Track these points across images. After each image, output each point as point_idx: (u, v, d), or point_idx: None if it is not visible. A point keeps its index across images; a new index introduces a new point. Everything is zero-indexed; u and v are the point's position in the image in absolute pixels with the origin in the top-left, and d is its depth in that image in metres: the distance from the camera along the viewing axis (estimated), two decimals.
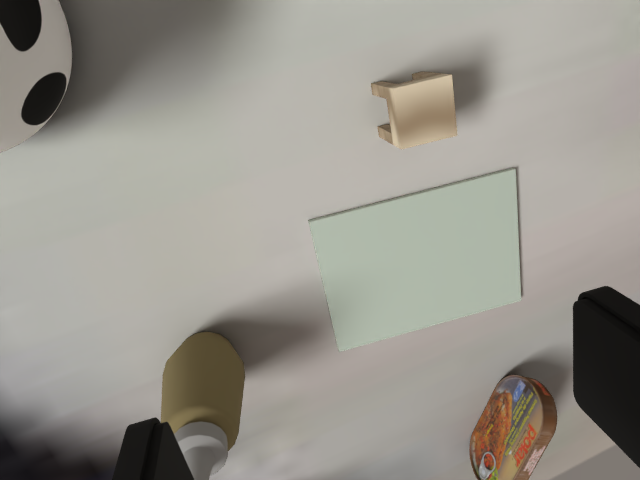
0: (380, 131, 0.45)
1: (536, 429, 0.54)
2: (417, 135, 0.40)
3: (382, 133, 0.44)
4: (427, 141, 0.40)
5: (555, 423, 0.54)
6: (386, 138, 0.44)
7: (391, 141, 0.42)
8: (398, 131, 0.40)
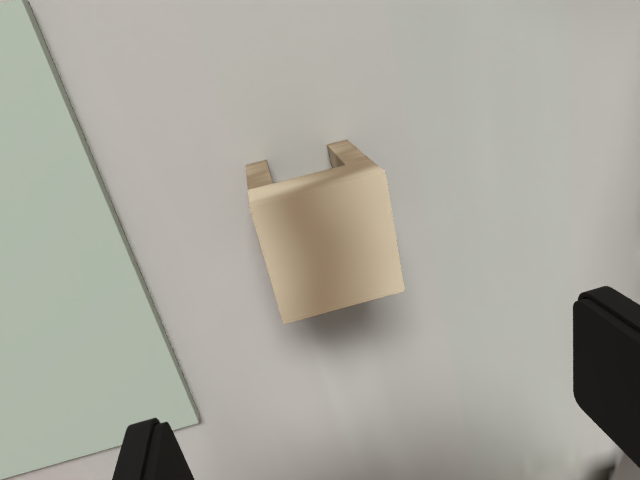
0: (259, 165, 0.22)
1: None
2: (283, 239, 0.17)
3: (258, 169, 0.21)
4: (269, 264, 0.18)
5: None
6: (252, 176, 0.20)
7: (253, 185, 0.19)
8: (290, 195, 0.17)
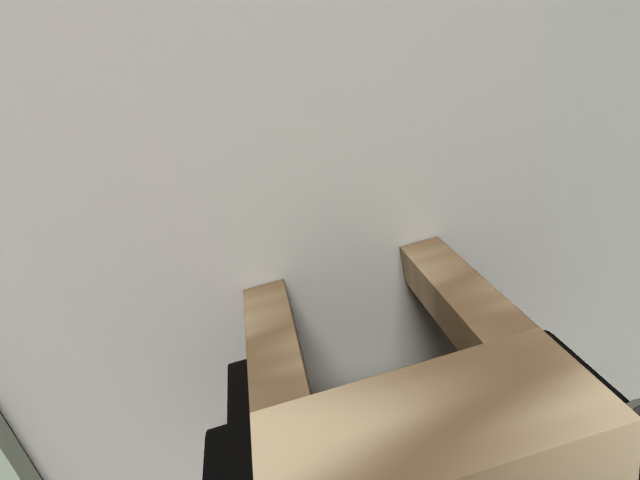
0: (271, 297, 0.11)
1: None
2: None
3: (270, 314, 0.10)
4: None
5: None
6: (258, 344, 0.09)
7: (262, 393, 0.08)
8: None
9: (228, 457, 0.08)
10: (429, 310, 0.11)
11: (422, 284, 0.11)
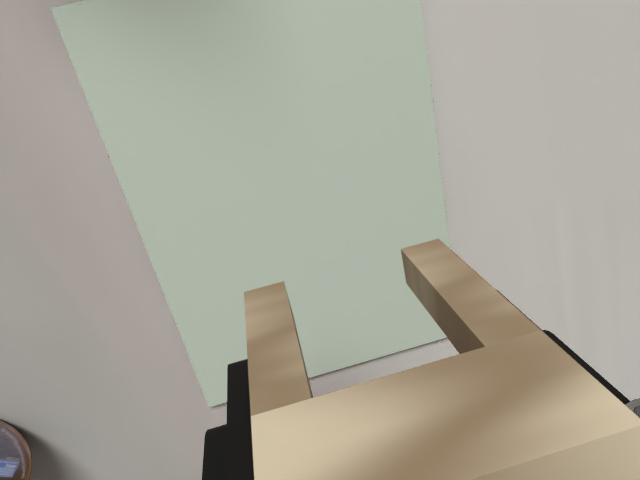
0: (271, 299, 0.11)
1: None
2: None
3: (271, 317, 0.10)
4: None
5: None
6: (259, 346, 0.09)
7: (263, 396, 0.08)
8: None
9: (228, 457, 0.08)
10: (430, 312, 0.11)
11: (423, 286, 0.11)
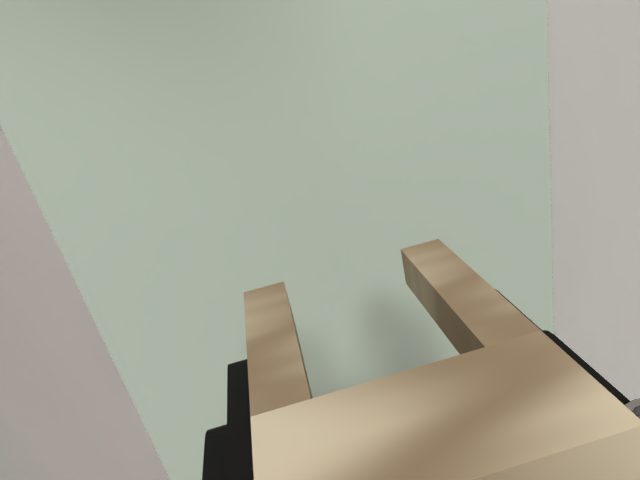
0: (271, 300, 0.11)
1: None
2: None
3: (270, 317, 0.10)
4: None
5: None
6: (259, 347, 0.09)
7: (263, 397, 0.08)
8: None
9: (228, 457, 0.08)
10: (430, 313, 0.11)
11: (423, 286, 0.11)
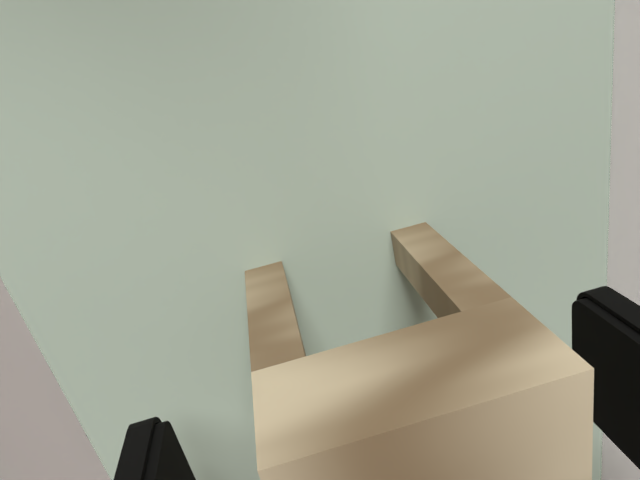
0: (270, 277, 0.12)
1: None
2: None
3: (269, 291, 0.11)
4: None
5: None
6: (259, 316, 0.10)
7: (262, 356, 0.09)
8: (359, 431, 0.07)
9: None
10: (417, 288, 0.12)
11: (410, 264, 0.12)
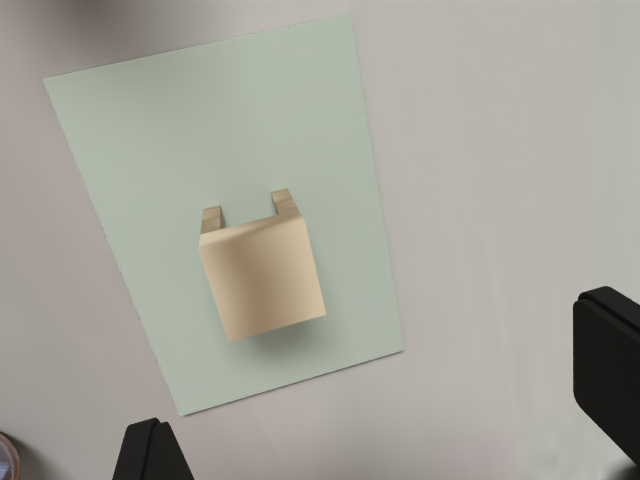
0: (213, 210, 0.27)
1: None
2: (226, 275, 0.22)
3: (212, 214, 0.26)
4: (215, 294, 0.22)
5: None
6: (206, 221, 0.25)
7: (205, 230, 0.24)
8: (231, 241, 0.22)
9: None
10: None
11: (274, 204, 0.27)
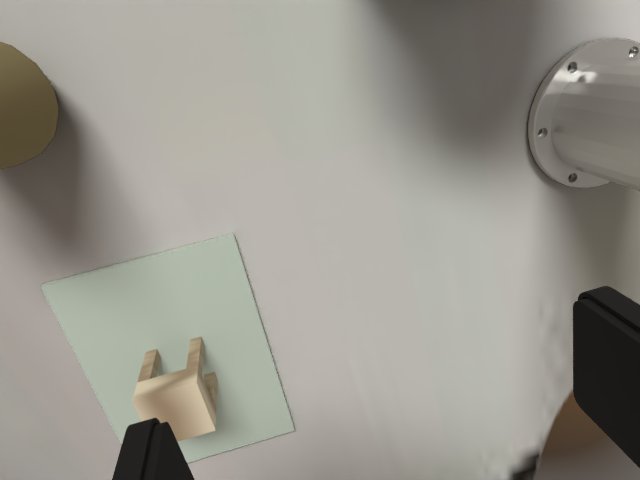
0: (151, 354, 0.42)
1: None
2: (150, 412, 0.37)
3: (149, 360, 0.41)
4: None
5: None
6: (144, 367, 0.40)
7: (140, 378, 0.39)
8: (151, 394, 0.37)
9: None
10: None
11: None
